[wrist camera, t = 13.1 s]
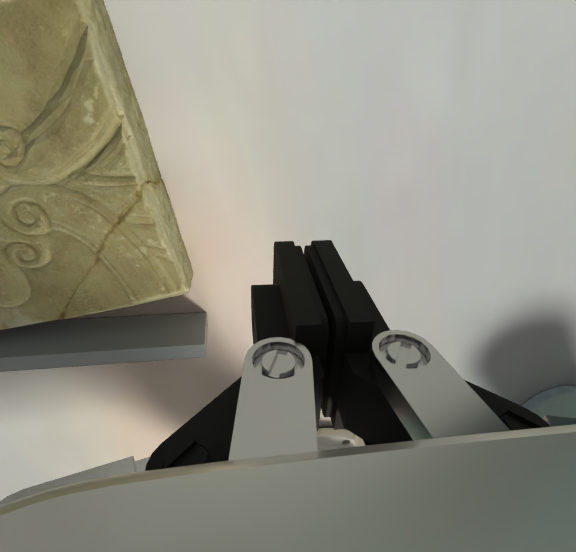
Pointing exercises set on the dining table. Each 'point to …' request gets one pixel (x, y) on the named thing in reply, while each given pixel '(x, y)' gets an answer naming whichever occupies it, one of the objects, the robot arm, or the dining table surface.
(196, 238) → the dining table surface
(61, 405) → the dining table surface
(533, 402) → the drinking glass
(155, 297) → the decorative tile
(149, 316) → the box
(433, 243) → the dining table surface
